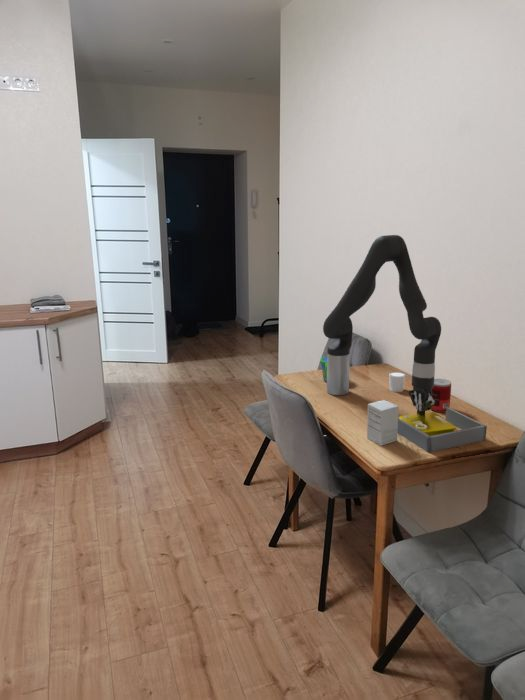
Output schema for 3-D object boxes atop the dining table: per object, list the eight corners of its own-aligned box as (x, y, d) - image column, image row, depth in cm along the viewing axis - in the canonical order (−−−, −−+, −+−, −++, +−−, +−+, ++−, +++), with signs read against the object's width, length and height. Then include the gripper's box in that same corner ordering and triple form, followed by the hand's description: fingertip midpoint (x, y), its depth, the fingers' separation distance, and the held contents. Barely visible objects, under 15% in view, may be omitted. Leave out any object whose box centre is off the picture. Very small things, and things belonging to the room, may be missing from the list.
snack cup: (335, 387, 228) (336, 365, 225) (313, 383, 233) (313, 362, 231) (349, 377, 241) (349, 356, 238) (328, 374, 246) (328, 353, 244)
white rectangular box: (382, 433, 180) (384, 399, 177) (397, 441, 174) (399, 405, 171) (366, 438, 177) (367, 403, 174) (380, 446, 171) (381, 410, 167)
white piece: (405, 392, 219) (406, 377, 217) (388, 392, 220) (389, 376, 218) (404, 387, 225) (405, 372, 223) (388, 386, 227) (388, 371, 225)
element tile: (457, 439, 175) (458, 426, 174) (417, 444, 172) (417, 431, 171) (433, 422, 189) (434, 410, 188) (395, 427, 186) (396, 414, 185)
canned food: (450, 406, 203) (452, 379, 200) (448, 413, 196) (450, 386, 193) (430, 403, 206) (431, 377, 203) (427, 410, 199) (428, 383, 196)
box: (394, 430, 182) (395, 417, 181) (447, 420, 190) (448, 407, 188) (428, 452, 165) (429, 438, 164) (485, 439, 173) (486, 426, 172)
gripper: (402, 369, 187) (400, 414, 191) (426, 380, 175) (423, 428, 179) (420, 367, 189) (417, 411, 194) (444, 377, 177) (441, 424, 182)
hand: (420, 419), depth 187 cm, fingers closed
